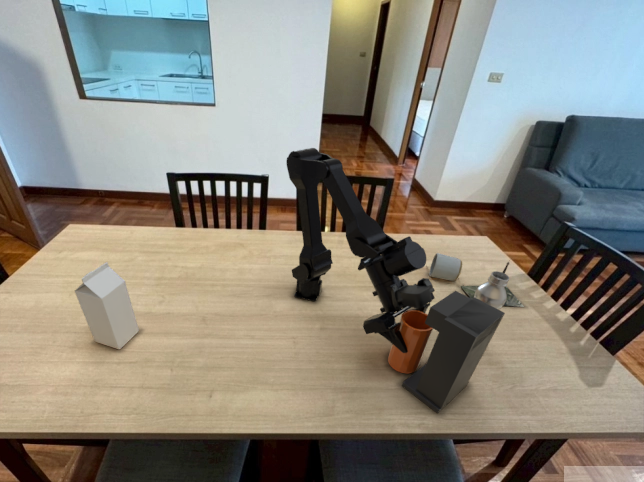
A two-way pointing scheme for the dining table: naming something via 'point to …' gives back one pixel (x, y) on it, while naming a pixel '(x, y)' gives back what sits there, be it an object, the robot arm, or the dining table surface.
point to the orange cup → (411, 342)
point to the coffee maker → (453, 348)
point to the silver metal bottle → (493, 290)
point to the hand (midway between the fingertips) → (415, 345)
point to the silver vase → (510, 299)
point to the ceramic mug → (445, 267)
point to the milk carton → (107, 307)
